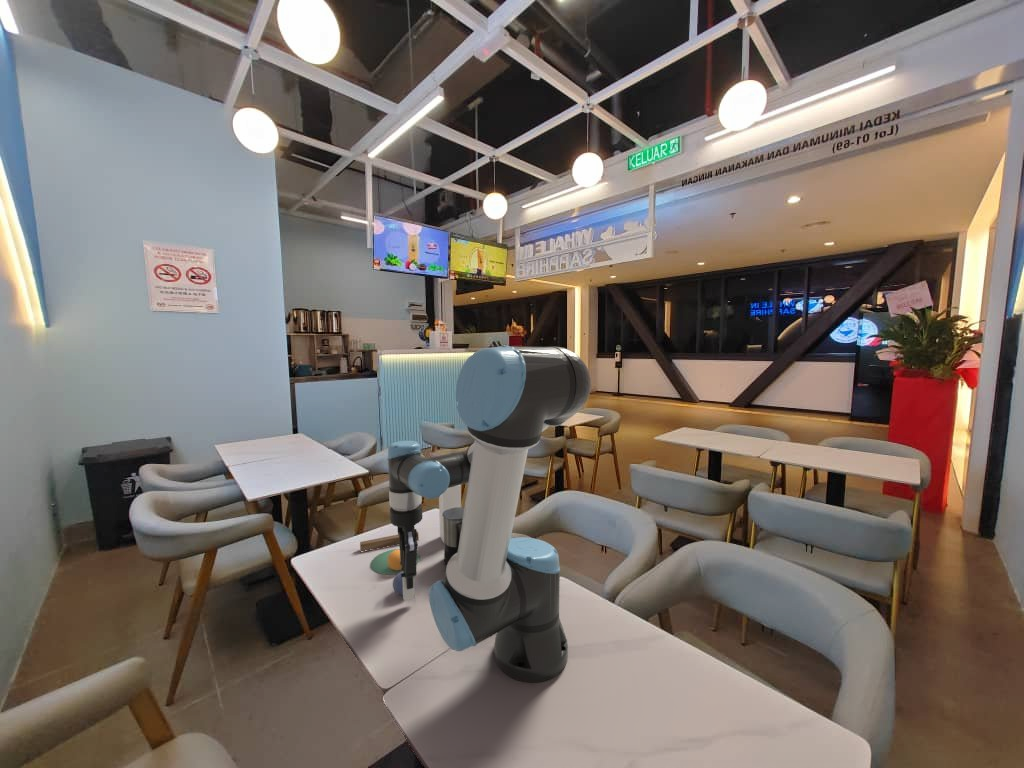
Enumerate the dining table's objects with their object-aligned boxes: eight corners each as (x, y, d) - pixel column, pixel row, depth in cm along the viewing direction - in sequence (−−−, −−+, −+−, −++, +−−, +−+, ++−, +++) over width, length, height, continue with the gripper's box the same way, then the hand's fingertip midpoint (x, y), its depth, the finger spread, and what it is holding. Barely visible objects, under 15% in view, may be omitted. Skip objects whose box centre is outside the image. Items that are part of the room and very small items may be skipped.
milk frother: (437, 559, 119) (436, 511, 118) (480, 543, 129) (479, 498, 128) (463, 580, 108) (462, 528, 107) (507, 560, 118) (507, 512, 117)
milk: (461, 540, 130) (461, 476, 128) (443, 544, 128) (442, 478, 126) (456, 533, 136) (455, 470, 134) (439, 536, 134) (438, 473, 132)
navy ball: (411, 564, 105) (411, 581, 106) (390, 570, 102) (391, 587, 104) (416, 577, 100) (417, 595, 102) (394, 584, 98) (395, 602, 99)
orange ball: (406, 543, 115) (404, 554, 118) (386, 548, 113) (385, 558, 116) (409, 561, 111) (408, 571, 114) (389, 565, 109) (388, 576, 112)
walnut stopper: (418, 540, 131) (418, 533, 131) (360, 552, 123) (360, 544, 123) (417, 537, 133) (417, 530, 132) (360, 549, 125) (360, 542, 125)
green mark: (423, 566, 115) (423, 566, 115) (373, 578, 109) (372, 578, 109) (414, 545, 127) (414, 545, 127) (368, 555, 121) (368, 554, 121)
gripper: (427, 512, 91) (430, 609, 93) (416, 494, 103) (419, 580, 105) (394, 518, 88) (397, 618, 90) (386, 498, 99) (389, 587, 101)
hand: (409, 598), depth 97 cm, fingers closed
